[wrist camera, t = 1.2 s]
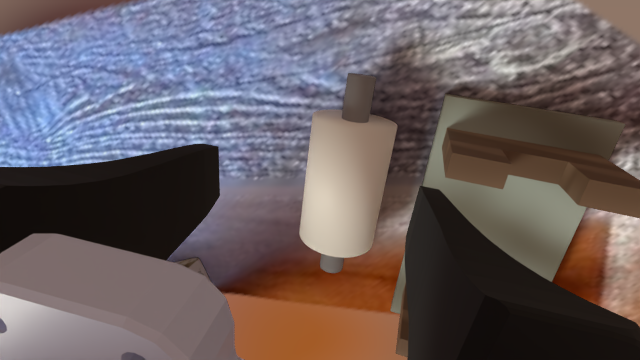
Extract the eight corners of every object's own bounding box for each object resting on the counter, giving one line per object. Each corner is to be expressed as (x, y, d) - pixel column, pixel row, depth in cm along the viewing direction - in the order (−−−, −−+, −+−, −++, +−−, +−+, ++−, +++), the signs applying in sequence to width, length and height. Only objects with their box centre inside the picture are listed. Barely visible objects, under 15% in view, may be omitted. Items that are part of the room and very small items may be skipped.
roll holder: (516, 339, 25) (543, 427, 19) (391, 302, 27) (381, 372, 21) (616, 120, 19) (699, 153, 13) (445, 93, 21) (451, 111, 15)
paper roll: (368, 253, 27) (363, 297, 22) (304, 240, 27) (287, 279, 23) (405, 78, 22) (408, 87, 17) (326, 66, 22) (309, 72, 18)
